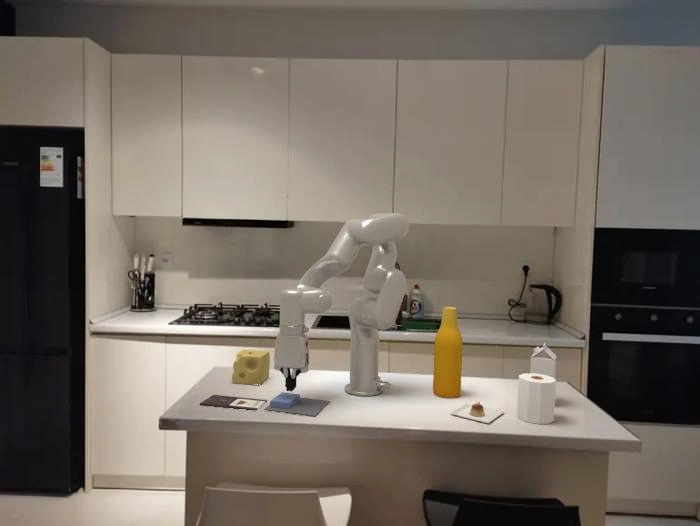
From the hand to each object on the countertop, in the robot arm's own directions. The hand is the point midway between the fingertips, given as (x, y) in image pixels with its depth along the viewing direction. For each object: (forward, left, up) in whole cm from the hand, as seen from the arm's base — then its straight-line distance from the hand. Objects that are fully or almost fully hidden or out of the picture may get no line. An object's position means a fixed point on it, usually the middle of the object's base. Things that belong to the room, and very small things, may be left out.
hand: (290, 389), depth 162 cm
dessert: (-55, -11, -6) cm, 56 cm away
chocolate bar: (+17, +4, -6) cm, 18 cm away
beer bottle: (-44, -28, -5) cm, 53 cm away
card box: (-1, 0, -3) cm, 4 cm away
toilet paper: (-71, -14, -5) cm, 73 cm away
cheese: (+23, -20, -5) cm, 31 cm away
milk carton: (-74, -30, -5) cm, 80 cm away
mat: (-2, 0, -5) cm, 5 cm away
